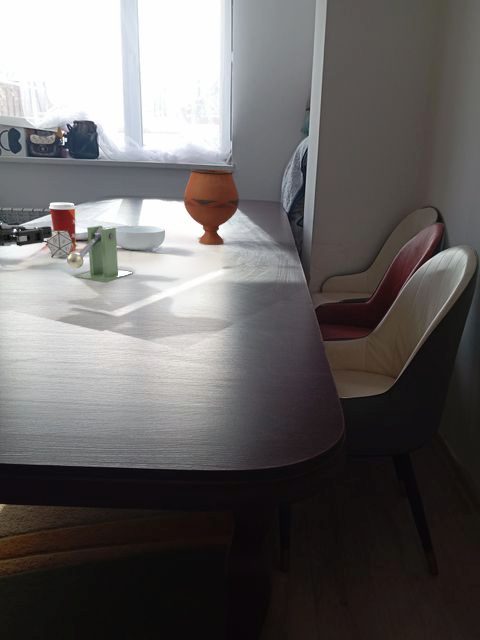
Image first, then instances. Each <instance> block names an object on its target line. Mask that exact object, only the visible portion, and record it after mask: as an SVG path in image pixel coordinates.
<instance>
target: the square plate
mask: <svg viewBox="0 0 480 640" xmlns="http://www.w3.org/2000/svg"><path fill="white" fill-rule="evenodd" d="M22 225H23V226H24V227H25V228H33V227H36V228H37V227H44V226H50V227H51V229H52V231H53V224H52V220H44V221H38V222H32V223H26V224H22ZM99 225H100V226H102V227H103V228H110V227H117V226H131V225H130V224H123V223H117V222H111V221H104V220H93V219H83V218H75V238H76V241H85V240H86V241H88V230H87V227H92V226H99Z"/></svg>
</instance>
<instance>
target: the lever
mask: <svg viewBox="0 0 480 640" xmlns="http://www.w3.org/2000/svg"><path fill="white" fill-rule="evenodd" d="M101 229H104V228H103V227H100V228H99V229H98V230H97V231H95V232H94V236H95V238H94V239H93V240H92V241H91V242H90V243H89V244H88V243H87V244H86V245H85V246H84V247H83V248H82V249H81V250H80V251H79V252H70V254H69V255H67V257H66V264H67V265H68V266H69V267H70V269H71V268H72V269H75V270H76V269H79V268H81V267H83V264H84V257H86V256H87V254H89V251H90V250H91V249H92V248H93V247H94V246H95V245H96V244H98V243H99V242H102V238H101Z"/></svg>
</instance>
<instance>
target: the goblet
mask: <svg viewBox="0 0 480 640" xmlns="http://www.w3.org/2000/svg"><path fill="white" fill-rule="evenodd" d="M190 172H191V173H190V176H189V178H188V181H187V185H186V186H185V190H184V195H183V204H184V208H185V210H186V212H187V214H188V215H189V216H190V217H191V218H192V219H193V221H195V223H198V224H199V225H201V226H202V230H204V233H203V234H202V236H201V237H199V241H198V243H200V244H202V243H203V244H202V245H209V246H211V245H213V246H215V245H222V244H224V240H223V238H222V237H221V236H220V234H219V233H218V231H219V230H220V226H222V225H224V224H225V223H227V222H228V221H229V220H231V218H233V216H234V215H235V214H236V212H237V210H238V208H239V205H240V204H239V202H240V198H239V192H238V189H237V185H236V182H235V179H234V177H233V171H230V170H226V169H224V170H223V169H192V168H191V169H190Z"/></svg>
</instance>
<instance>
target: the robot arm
mask: <svg viewBox="0 0 480 640" xmlns="http://www.w3.org/2000/svg"><path fill="white" fill-rule="evenodd" d="M23 225H24V224H20V223H19V222H17V221H12V222H3V223H1V222H0V247H10V246H12V245H13V246H14V245H16V246H18V247H23V246H28V245H29V246H30V245H35V244H43V243H45V242H44V241H45V239H48V238H51V237H52V229H51V227H50V226H44V227H37V228H36V227H33V228H25V227H24V226H23Z"/></svg>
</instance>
